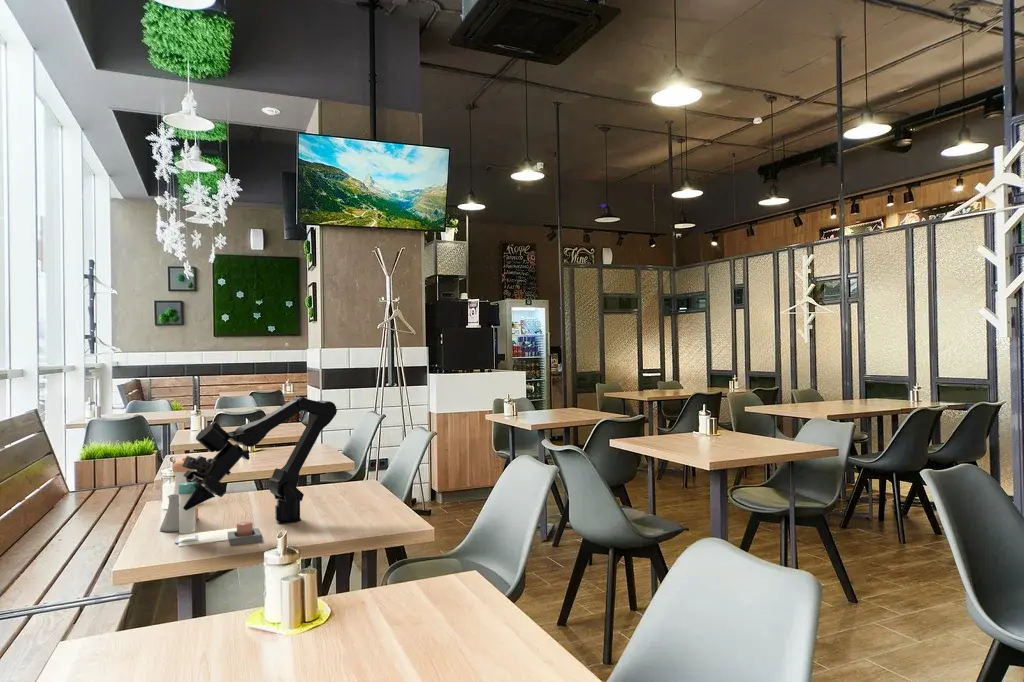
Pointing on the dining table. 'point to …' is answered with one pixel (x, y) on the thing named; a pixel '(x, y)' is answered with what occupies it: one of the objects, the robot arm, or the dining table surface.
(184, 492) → the marker
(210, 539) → the paper
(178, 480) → the pepper shaker
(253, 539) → the button collar
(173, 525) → the flask
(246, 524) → the button
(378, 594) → the dining table surface
